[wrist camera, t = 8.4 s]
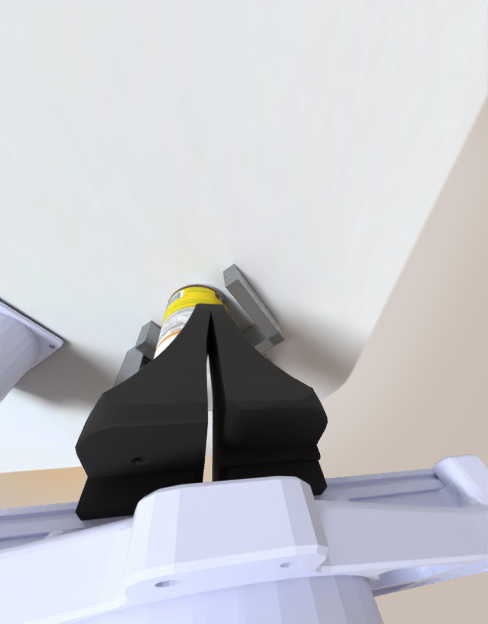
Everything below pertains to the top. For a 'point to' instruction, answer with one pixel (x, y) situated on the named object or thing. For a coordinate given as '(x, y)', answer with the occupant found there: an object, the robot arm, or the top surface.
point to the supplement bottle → (187, 317)
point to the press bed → (258, 335)
